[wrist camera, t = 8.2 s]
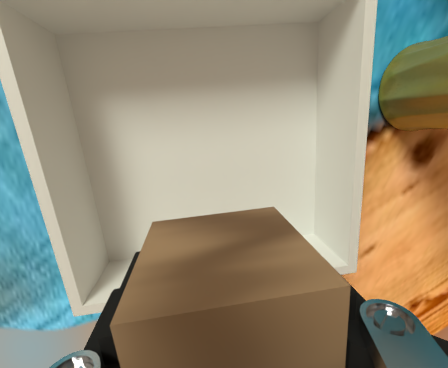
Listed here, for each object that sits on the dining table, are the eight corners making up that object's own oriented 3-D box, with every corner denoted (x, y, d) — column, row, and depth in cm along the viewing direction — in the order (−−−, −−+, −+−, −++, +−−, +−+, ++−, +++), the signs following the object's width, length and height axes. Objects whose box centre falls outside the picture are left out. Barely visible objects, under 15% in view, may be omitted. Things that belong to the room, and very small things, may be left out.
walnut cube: (273, 206, 10) (350, 285, 5) (276, 305, 11) (339, 442, 6) (152, 221, 9) (109, 325, 5) (170, 323, 11) (151, 487, 6)
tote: (322, 14, 16) (380, -34, 11) (317, 235, 20) (356, 272, 15) (46, 27, 14) (-31, -23, 9) (105, 265, 18) (74, 316, 13)
